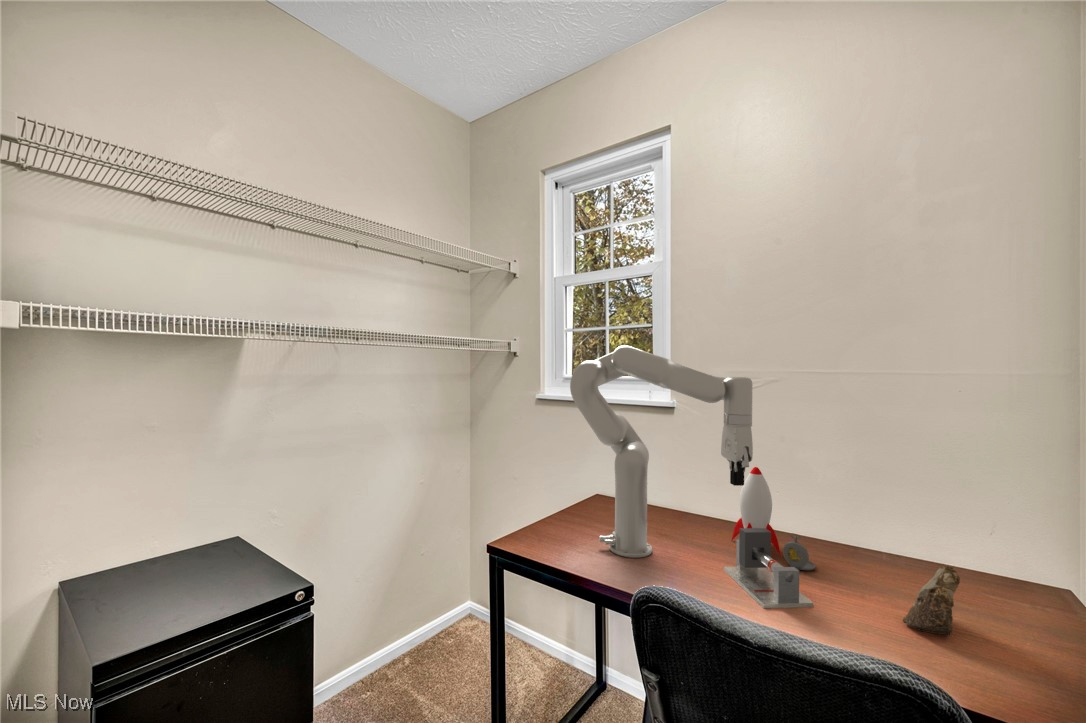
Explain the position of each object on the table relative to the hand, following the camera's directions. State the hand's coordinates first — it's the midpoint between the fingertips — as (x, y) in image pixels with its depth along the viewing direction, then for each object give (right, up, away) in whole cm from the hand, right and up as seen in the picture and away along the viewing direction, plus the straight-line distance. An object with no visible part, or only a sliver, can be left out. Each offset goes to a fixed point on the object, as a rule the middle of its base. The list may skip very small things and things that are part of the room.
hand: (737, 484), depth 133 cm
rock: (+28, -22, -32) cm, 48 cm away
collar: (0, -19, -10) cm, 21 cm away
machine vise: (+1, -22, -15) cm, 27 cm away
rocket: (+10, -23, +11) cm, 27 cm away
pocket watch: (+16, -23, -3) cm, 28 cm away
